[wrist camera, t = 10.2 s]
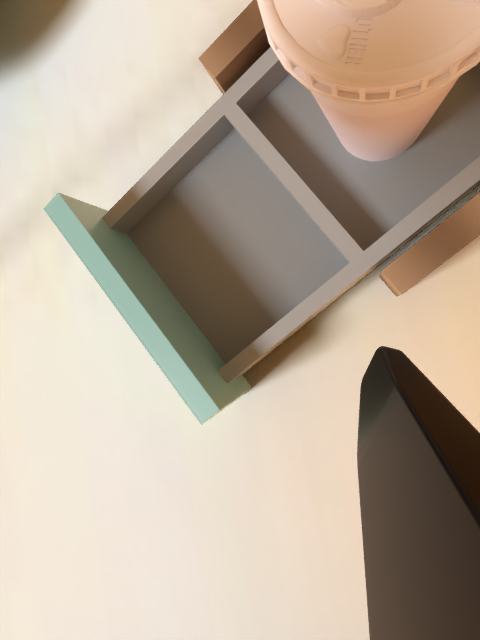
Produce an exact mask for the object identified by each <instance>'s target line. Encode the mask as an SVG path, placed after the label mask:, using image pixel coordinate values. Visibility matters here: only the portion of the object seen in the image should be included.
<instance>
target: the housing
mask: <svg viewBox="0 0 480 640" xmlns="http://www.w3.org/2000/svg"><path fill="white" fill-rule="evenodd" d="M270 47H271V46H270V44H269V42H268V38H267V34H266V31H265V27H264V23H263V20H262V16H261V13H260V10H259V6H258V2H257V0H253V1H252V2H251V3H250V4H249V5H248V6H247V8H246V9H245V10H244V11H243V12H242V13H241V14H240V15H239V16H238V17H237V18H236V19H235V20H234V21H233V22H232V23H231V24H230V26H229V27H228V28H227V29H226V30H225V31H224V32H223V33H222V34H221V35H220V36H219V37H218V38H217V39H216V40H215V41H214V43H213V44H212V45H211V46H210V47H209V48H208V49H207V50H206V51H205V52H204V53H203V54H202V55H201V56H200V57H199V60H200V61H201V63H202V64H203V66H204V67H205V69H206V70H207V72H208V73H209V74H210V76H211V77H212V79H213V80H214V82H215V83H216V85H217V86H218V88H219V89H220V91H221V92H222V93H223V95H224V93H225V92H226V91H227V90H228V89H229V88H230V87H231V86H232V85H233V84H234V83H235V82H236V81H237V80H238V79H239V78H240V77H241V76H242V75H243V74H244V73H245V72H246V71H247V70H248V69H249V68H250V67H251V66H252V65H253V64H254V63H255V62H256V61H257V60H258V59H259V58H260V57H261V56H262V55H263V54H264V53H265V52H266V51H267V50H268V49H269V48H270ZM478 235H480V193H478V194H477V195H476V196H475V197H473V198H472V199H471V200H470V201H468V202H467V203H466V204H465V205H463V206H462V207H461V208H460V209H458V210H457V211H456V212H455V213H453V214H452V215H451V216H450V217H448V218H447V219H446V220H445V221H443V222H442V223H441V224H440V225H438V226H437V227H436V228H435V229H433V230H432V231H431V232H430V233H428V234H427V235H426V236H424V237H423V238H422V239H421V240H419V241H418V242H417V243H416V244H414V245H413V246H412V247H411V248H409V249H408V250H407V251H406V252H404V253H403V254H402V255H401V256H399V257H398V258H397V259H396V260H394V261H393V262H392V263H391V264H389V265H388V266H387V267H386V268H384V269H383V270H382V271H381V274H380V276H379V277H380V278H381V279H382V280H383V281H384V282H385V284H386V285H387V286H388V287H389V288H390V289H391V291H392V292H393V293H394V294H395V295H396V296H399V295H402V294H403V293H405V292H406V291H407V290H408V289H410V288H411V287H412V286H414V285H415V284H416V283H418V282H419V281H420V280H421V279H423V278H424V277H425V276H427V275H428V274H429V273H430V272H432V271H433V270H434V269H436V268H437V267H438V266H440V265H441V264H442V263H443V262H445V261H446V260H447V259H449V258H450V257H451V256H453V255H454V254H455V253H456V252H458V251H459V250H460V249H462V248H463V247H464V246H465V245H467V244H468V243H469V242H471V241H472V240H473V239H475V238H476V237H477V236H478Z"/></svg>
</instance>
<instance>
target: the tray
mask: <svg viewBox="0 0 480 640" xmlns="http://www.w3.org/2000/svg"><path fill="white" fill-rule="evenodd" d="M479 185H480V62H479V63H478V64H477V65H476V66H474V67H473V68H471V69H470V70H468V71H467V72H465V73H464V74H462V75H461V76H460V77H459V78H458V80H457V81H456V82H455V84H454V85H453V87H452V88H451V90H450V91H449V93H448V94H447V96H446V97H445V98H444V100H443V101H442V103H441V104H440V106H439V107H438V109H437V110H436V112H435V113H434V114H433V116H432V117H431V119H430V120H429V122H428V123H427V125H426V126H425V127H424V129H423V130H422V132H421V133H420V135H419V136H418V138H417V139H416V141H415V142H414V143H413V144H412V145H411V146H410V147H409V148H408V149H407V150H406V151H404V152H403V153H401V154H400V155H398V156H396V157H394V158H391V159H388V160H384V161H367V160H363V159H360V158H357V157H355V156H354V155H352V154H351V153H349V152H348V151H347V150H346V149H345V148H344V146H343V145H342V143H341V142H340V140H339V138H338V137H337V135H336V133H335V132H334V130H333V128H332V126H331V125H330V123H329V121H328V120H327V118H326V116H325V115H324V113H323V111H322V110H321V108H320V106H319V104H318V103H317V101H316V99H315V98H314V96H313V94H312V93H311V91H310V90H309V89H307V88H306V87H305V86H304V85H303V84H301V83H300V82H299V81H298V80H297V79H296V78H294V77H293V76H292V75H291V74H290V73H289V72H288V71H286V70H285V69H284V67H283V65H282V64H281V62H280V60H279V59H278V57H277V56H276V54H275V52H274V51H273V49H272V47H270V48H269V49H268V50H267V51H266V52H265V53H264V54H263V55H262V56H261V57H260V58H259V59H258V60H257V61H256V62H255V63H254V64H253V65H252V66H251V67H250V68H249V69H248V70H247V71H246V72H245V73H244V74H243V75H242V76H241V77H240V78H239V79H238V80H237V81H236V82H235V83H234V84H233V85H232V86H231V87H230V88H229V89H228V90H227V91H226V92H225V93H224V95H223V96H222V97H221V98H220V99H219V100H218V101H217V102H216V103H215V104H214V105H213V106H212V107H211V108H210V109H209V110H208V111H207V112H206V113H205V114H204V115H203V116H202V117H201V118H200V119H199V120H198V121H197V122H196V123H195V124H194V125H193V126H192V127H191V128H190V129H189V130H188V131H187V132H186V133H185V134H184V135H183V136H182V137H181V138H180V139H179V140H178V141H177V142H176V143H175V144H174V145H173V146H172V147H171V148H170V149H169V150H168V151H167V152H166V153H165V154H164V155H163V156H162V157H161V158H160V159H159V161H158V162H157V163H156V164H155V165H154V166H153V167H152V168H151V169H150V170H149V171H148V172H147V173H146V174H145V175H144V176H143V177H142V178H141V179H140V180H139V181H138V182H137V183H136V184H135V185H134V186H133V187H132V188H131V189H130V190H129V191H128V192H127V193H126V194H125V195H124V196H123V197H122V198H121V199H120V200H119V201H118V202H117V203H116V204H115V205H114V206H113V207H112V208H111V209H110V210H109V211H107V210H104V209H101V208H98V207H96V206H93V205H90V204H88V203H85V202H82V201H79V200H77V199H74V198H71V197H68V196H66V195H63V194H60V193H58V194H57V195H56V196H55V197H54V198H53V199H52V200H51V201H50V202H49V203H48V204H47V206H46V207H45V208H44V210H45V211H46V213H47V214H48V215H49V217H50V218H51V220H52V221H53V222H54V224H55V225H56V226H57V228H58V229H59V230H60V232H61V233H62V235H63V236H64V237H65V239H66V240H67V241H68V243H69V244H70V246H71V247H72V248H73V250H74V251H75V252H76V254H77V255H78V256H79V258H80V259H81V261H82V262H83V263H84V265H85V266H86V267H87V269H88V270H89V272H90V273H91V274H92V276H93V277H94V278H95V280H96V281H97V283H98V284H99V285H100V287H101V288H102V289H103V291H104V292H105V293H106V295H107V296H108V298H109V299H110V300H111V302H112V303H113V304H114V306H115V307H116V309H117V310H118V311H119V313H120V314H121V315H122V317H123V318H124V319H125V321H126V322H127V324H128V325H129V326H130V328H131V329H132V330H133V332H134V333H135V335H136V336H137V337H138V339H139V340H140V341H141V343H142V344H143V346H144V347H145V348H146V350H147V351H148V352H149V354H150V355H151V356H152V358H153V359H154V361H155V362H156V363H157V365H158V366H159V367H160V369H161V370H162V372H163V373H164V374H165V376H166V377H167V378H168V380H169V381H170V382H171V384H172V385H173V387H174V388H175V389H176V391H177V392H178V393H179V395H180V396H181V398H182V399H183V400H184V402H185V403H186V404H187V406H188V407H189V409H190V410H191V411H192V413H193V414H194V415H195V417H196V418H197V419H198V421H199V422H200V424H201V425H202V424H203V423H205V422H206V421H207V420H209V419H210V418H212V417H213V416H215V415H216V414H217V413H219V412H220V411H222V410H223V409H224V408H226V407H227V406H229V405H230V404H231V403H233V402H234V401H236V400H237V399H238V398H240V397H241V396H242V395H243V394H245V393H246V392H247V391H248V390H250V389H251V388H252V387H251V386H250V384H249V383H248V382H247V381H246V379H245V378H244V377H243V374H244V373H245V372H247V371H248V370H249V369H250V368H252V367H253V366H254V365H255V364H257V363H258V362H259V361H260V360H262V359H263V358H264V357H265V356H267V355H268V354H269V353H270V352H272V351H273V350H274V349H275V348H276V347H278V346H279V345H280V344H281V343H283V342H284V341H285V340H286V339H288V338H289V337H290V336H291V335H293V334H294V333H295V332H296V331H298V330H299V329H300V328H301V327H303V326H304V325H305V324H306V323H308V322H309V321H310V320H311V319H313V318H314V317H315V316H316V315H318V314H319V313H320V312H321V311H323V310H324V309H325V308H326V307H328V306H329V305H330V304H331V303H333V302H334V301H335V300H336V299H338V298H339V297H340V296H341V295H343V294H344V293H345V292H346V291H348V290H349V289H350V288H351V287H353V286H354V285H355V284H356V283H358V282H359V281H360V280H361V279H363V278H364V277H365V276H366V275H368V274H369V273H370V272H371V271H373V270H374V269H375V268H376V267H377V266H379V265H380V264H381V263H382V262H384V261H385V260H386V259H387V258H389V257H390V256H391V255H392V254H394V253H395V252H396V251H397V250H399V249H400V248H401V247H402V246H404V245H405V244H406V243H407V242H409V241H410V240H411V239H412V238H414V237H415V236H416V235H417V234H419V233H420V232H421V231H422V230H424V229H425V228H426V227H427V226H429V225H430V224H431V223H432V222H434V221H435V220H436V219H437V218H439V217H440V216H441V215H442V214H444V213H445V212H446V211H447V210H449V209H450V208H451V207H452V206H454V205H455V204H456V203H457V202H459V201H460V200H461V199H462V198H464V197H465V196H466V195H467V194H469V193H470V192H471V191H472V190H474V189H475V188H476V187H477V186H479Z"/></svg>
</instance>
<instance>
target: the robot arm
mask: <svg viewBox="0 0 480 640" xmlns="http://www.w3.org/2000/svg"><path fill="white" fill-rule="evenodd" d="M357 463H358V479H359V493H360V507H361V521H362V535H363V549H364V563H365V577H366V591H367V606H368V620H369V634H370V640H480V433H479V432H478V431H477V430H476V429H475V427H474V426H473V425H472V424H471V423H470V422H469V421H468V420H467V419H466V418H465V417H464V416H463V415H462V414H461V413H460V412H459V411H458V410H457V409H456V408H455V407H454V406H453V404H452V403H451V402H450V401H449V400H448V399H447V398H446V397H445V396H444V395H443V394H442V393H441V392H440V391H439V390H438V389H437V388H436V387H435V386H434V385H433V384H432V382H431V381H430V380H429V379H428V378H427V377H426V376H425V375H424V374H423V373H422V372H421V371H420V370H419V369H418V368H417V367H416V366H415V365H414V364H413V363H412V362H411V360H410V359H409V358H408V357H407V356H406V355H405V354H404V353H403V352H402V351H400V350H397V349H393V348H389V347H385V346H381V347H379V348H378V349H377V350H376V352H375V354H374V356H373V358H372V360H371V362H370V364H369V366H368V368H367V370H366V372H365V374H364V377H363V379H362V383H361V391H360V409H359V427H358V446H357Z"/></svg>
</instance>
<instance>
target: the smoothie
mask: <svg viewBox="0 0 480 640" xmlns="http://www.w3.org/2000/svg"><path fill="white" fill-rule="evenodd" d="M257 2H258V6H259V10H260V13H261V16H262V20H263V23H264V27H265V31H266V34H267V38H268V42H269V44H270V46H271V47H272V49H273V51H274V52H275V54H276V56H277V57H278V59H279V60H280V62H281V64H282V65H283V67H284V69H285V70H286V71H288V72H289V73H290V74H291V75H292V76H293V77H294V78H296V79H297V80H298V81H299V82H300V83H301V84H303V85H304V86H305V87H306V88H307V89H309V90H310V91H311V93H312V94H313V96H314V98H315V99H316V101H317V103H318V104H319V106H320V108H321V110H322V111H323V113H324V115H325V116H326V118H327V120H328V121H329V123H330V125H331V126H332V128H333V130H334V132H335V133H336V135H337V137H338V138H339V140H340V142H341V143H342V145H343V146H344V148H345V149H346V150H347V151H348V152H349V153H351V154H352V155H354V156H355V157H357V158H360V159H363V160H367V161H384V160H388V159H391V158H394V157H396V156H398V155H400V154H401V153H403V152H404V151H406V150H407V149H408V148H409V147H410V146H411V145H412V144H413V143H414V142H415V141H416V139H417V138H418V136H419V135H420V133H421V132H422V130H423V129H424V127H425V126H426V125H427V123H428V122H429V120H430V119H431V117H432V116H433V114H434V113H435V112H436V110H437V109H438V107H439V106H440V104H441V103H442V101H443V100H444V98H445V97H446V96H447V94H448V93H449V91H450V90H451V88H452V87H453V85H454V84H455V82H456V81H457V80H458V78H459V77H460V76H461V75H462V74H464V73H465V72H467V71H468V70H470V69H471V68H473V67H474V66H476V65H477V64H478V63H479V62H480V0H257Z"/></svg>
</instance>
